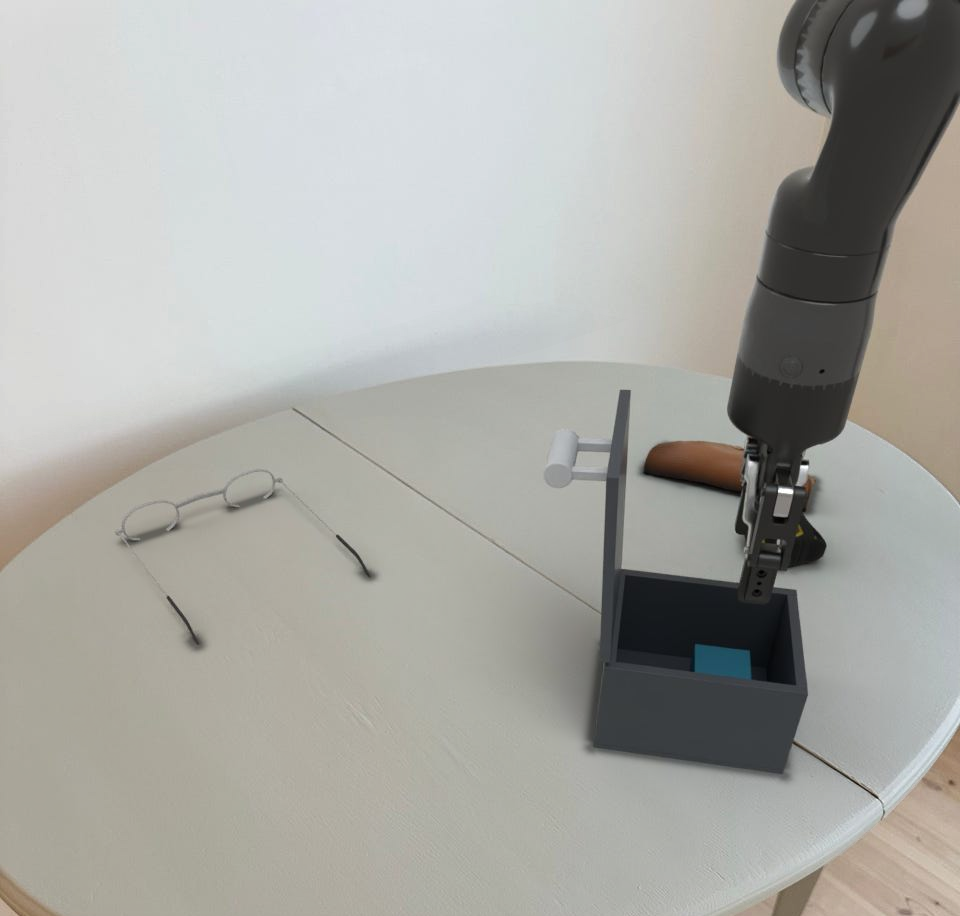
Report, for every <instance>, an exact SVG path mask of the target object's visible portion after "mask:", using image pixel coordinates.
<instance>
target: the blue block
mask: <svg viewBox="0 0 960 916" xmlns="http://www.w3.org/2000/svg"><path fill="white" fill-rule="evenodd" d="M689 672H697V673H705V674H712V675H720V676H727V677H735V678H742V679H750V680H751V663H750V651H747V650H739V649H731V648H723V647H715V646H707V645H699V644H695V646H694V651H693V655H692V660H691V665H690V669H689Z"/></svg>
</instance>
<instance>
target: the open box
mask: <svg viewBox="0 0 960 916" xmlns="http://www.w3.org/2000/svg"><path fill="white" fill-rule="evenodd" d="M738 586H739V582H735V581H727V580H721V579H719V580H718V579H711V578H703V577H702V578H701V577H694V576H685V575H679V574H677V575H676V574H670V573H669V574H668V573H662V572H661V573H660V572H652V571H643V570H636V569H627V568H621V575H620V584H619V592H618V601H617V609H616V618H615V627H614V635H613V644H612V652H611V661H610V663H609V662H603V665H602V673H601V681H600V688H599V697H598V706H597V713H596V721H595V729H594V737H593V746H592V747H593V748H594V749H595V748H596V749H602V750H610V751H617V752H622V753H623V752H624V753H631V754H637V755H645V756H652V757H658V758H665V759H674V760H679V761H686V762H693V763H700V764H701V763H702V764H708V765H715V766H722V767H729V768H735V769H742V770H749V771H757V772H763V773H770V774H777V775H783V773H784V770H785V767H786V764H787V761H788V758H789V755H790V752H791V749H792V746H793V743H794V740H795V736H796V733H797V731H798V727H799V724H800V722H801V718H802V715H803V712H804V709H805V706H806V703H807V699H808V698H809V697H808V696H809V688H808V680H807V672H806V662H805V661H806V660H805V654H804V646H803V637H802V636H803V634H802V626H801V617H800V609H799V601H798V600H799V599H798V591H797V589H795V588H794V589H793V588H784V587H775V586H774V587H773V591H772V595H771V599H770V601H769V603H767V604H764V605H760V604H751V603H743V602H740V601H739V600H738V595H737V590H738ZM695 644H699V645H707V646H715V647H723V648H731V649H739V650H747V651H750V663H751V680H750V679H742V678H735V677H727V676H720V675H712V674H705V673H697V672H689V669H690V665H691V660H692V655H693V651H694V646H695Z"/></svg>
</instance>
